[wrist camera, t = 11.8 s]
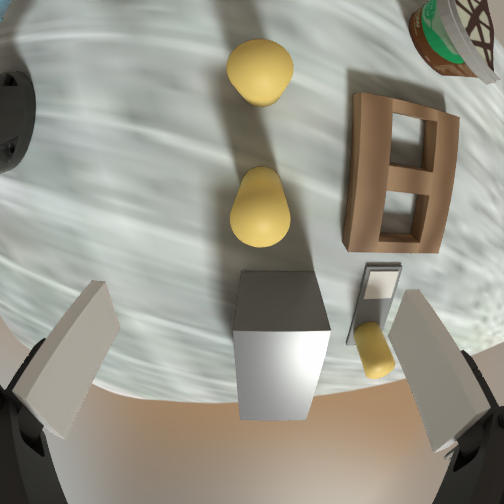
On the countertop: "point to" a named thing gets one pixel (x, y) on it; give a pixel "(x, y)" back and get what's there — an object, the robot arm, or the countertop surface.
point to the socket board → (398, 176)
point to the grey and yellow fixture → (374, 319)
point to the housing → (278, 343)
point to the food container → (455, 38)
